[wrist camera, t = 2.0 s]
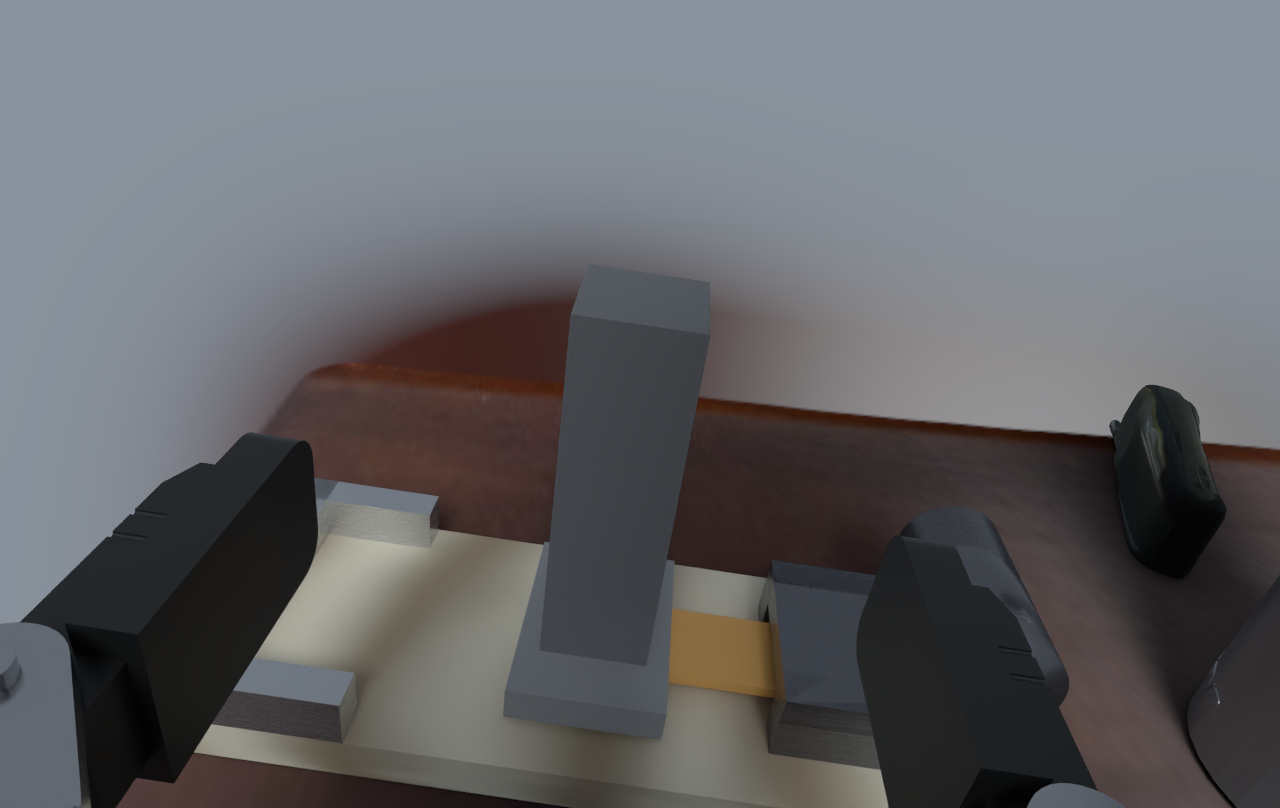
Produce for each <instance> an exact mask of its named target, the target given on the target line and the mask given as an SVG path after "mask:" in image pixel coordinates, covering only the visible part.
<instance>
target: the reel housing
mask: <svg viewBox="0 0 1280 808" xmlns="http://www.w3.org/2000/svg"><path fill="white" fill-rule="evenodd" d="M899 536H904V537H910V538H916V539H923V540H929V541H936V542H942V543H948V544H952V545H953V546H955V548H956V549H957V551H958V553H959V555H960V558H961V560H962V562H963V565H964V567H965V569H966V572H967V574H968V577H969V579H970V581H971V584H972V585H975V586H981V587H988V588H989V589H990V590H991V591H992V592H993V593H994V594H995V595H996V596H997V597H998V598H999V600H1000V601H1001V602H1002V603H1003V604H1004V605H1005V606H1006V607H1007V608H1008V609H1009V610H1010V611H1011V612H1012V613H1013V615H1014V616H1015V617H1016V618H1017V619H1018V622H1019V624H1020V626H1021V628H1022V630H1023V632H1024V634H1025V637H1026V639H1027V641H1028V643H1029V645H1030V647H1031V649H1032V657H1035V658H1036V660H1037V662H1038V664H1039V666H1040V669H1041V671H1042V673H1043V675H1044V677H1045V680H1044V683H1045V685H1048V686H1049V688H1050V690H1051V692H1052V694H1053V696H1054V699H1055V701H1056V703H1057V705H1058V707H1059V706H1060V705H1061V703H1062V702H1063V701H1064V699H1065V697H1066V695H1067V692H1068V689H1069V678H1068V675H1067V672H1066V670H1065V668H1064V666H1063V664H1062V662H1061V659H1060V657H1059V655H1058V653H1057V651H1056V649H1055V647H1054V645H1053V643H1052V641H1051V639H1050V637H1049V635H1048V633H1047V631H1046V629H1045V627H1044V625H1043V623H1042V621H1041V619H1040V617H1039V615H1038V613H1037V611H1036V609H1035V607H1034V604H1033V602H1032V600H1031V598H1030V596H1029V594H1028V592H1027V590H1026V588H1025V586H1024V584H1023V582H1022V580H1021V578H1020V576H1019V574H1018V572H1017V570H1016V568H1015V566H1014V564H1013V562H1012V560H1011V558H1010V556H1009V554H1008V551H1007V549H1006V547H1005V545H1004V543H1003V541H1002V539H1001V537H1000V535H999V533H998V531H997V529H996V527H995V526H994V524H993V523H992V522H991V520H990V519H989V518H987V517H986V516H985V515H983V514H982V513H980V512H978V511H975V510H972V509H969V508H964V507H942V508H938V509H934V510H931V511H928V512H926V513H923V514H921V515H919V516H918V517H916V518H915V519H913V520H912V521H911V522H909V523H908V524H907V525H906V526H905V527H904V529H903V530H902V531H901V533H900V534H899ZM875 578H876V575H871V574H864V573H857V572H850V571H843V570H837V569H830V568H823V567H816V566H810V565H803V564H796V563H789V562H783V561H776V560H771V563H770V567H769V570H768V574H767V577H766V581H765V584H764V588H763V591H762V595H761V599H760V602H759V606H758V619H759V621H760V622H767V623H770V630H771V641H772V652H773V662H774V673H775V684H776V694H775V697H774V700H773V703H772V706H771V709H770V712H769V716H768V719H767V735H768V748H769V754H775V755H782V756H788V757H795V758H802V759H809V760H816V761H823V762H829V763H836V764H843V765H850V766H857V767H863V768H870V769H877V770H880V765H879V760H878V756H877V751H876V746H875V742H874V737H873V732H872V728H871V723H870V718H869V714H868V709H867V704H866V700H865V695H864V691H863V686H862V681H861V677H860V672H859V667H858V662H857V652H856V643H857V632H858V626H859V621H860V617H861V614H862V612H863V609H864V606H865V604H866V601H867V599H868V596H869V593H870V591H871V588H872V585H873V583H874V580H875Z"/></svg>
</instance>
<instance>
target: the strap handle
mask: <svg viewBox="0 0 1280 808" xmlns="http://www.w3.org/2000/svg"><path fill="white" fill-rule="evenodd" d="M709 339H710V283H709V282H703V281H697V280H690V279H683V278H677V277H670V276H663V275H657V274H649V273H643V272H637V271H630V270H623V269H616V268H610V267H603V266H596V265H590V264H589V265H588V268H587V270H586V273H585V276H584V279H583V282H582V285H581V287H580V290H579V293H578V296H577V298H576V302H575V304H574V307H573V310H572V313H571V319H570V329H569V340H568V351H567V361H566V373H565V383H564V393H563V404H562V415H561V425H560V436H559V447H558V457H557V468H556V479H555V489H554V500H553V510H552V521H551V532H550V542H544V546H543V549H542V553H541V557H540V561H539V564H538V568H537V572H536V576H535V579H534V583H533V587H532V591H531V594H530V598H529V602H528V606H527V609H526V613H525V617H524V621H523V624H522V628H521V632H520V636H519V639H518V643H517V647H516V651H515V654H514V658H513V662H512V666H511V670H510V673H509V677H508V681H507V685H506V688H505V695H504V711H503V717H509V718H516V719H523V720H530V721H536V722H543V723H550V724H557V725H564V726H570V727H577V728H584V729H591V730H598V731H605V732H611V733H618V734H625V735H632V736H639V737H645V738H652V739H659V740H661V738H662V734H663V729H664V725H665V720H666V716H667V700H668V683H675V684H681V685H688V686H695V687H702V688H709V689H715V690H722V691H729V692H736V693H743V694H749V695H756V696H763V697H770V698H774V697H775V694H776V684H775V673H774V662H773V652H772V641H771V630H770V623H767V622H760V621H753V620H746V619H740V618H733V617H726V616H719V615H712V614H706V613H699V612H692V611H685V610H679V609H672V600H673V580H674V561H672V560H667V556H668V551H669V546H670V541H671V535H672V530H673V525H674V520H675V515H676V510H677V505H678V499H679V494H680V489H681V484H682V479H683V474H684V468H685V463H686V458H687V453H688V448H689V443H690V437H691V432H692V427H693V422H694V417H695V412H696V407H697V401H698V396H699V391H700V386H701V381H702V376H703V370H704V365H705V360H706V355H707V350H708V344H709Z"/></svg>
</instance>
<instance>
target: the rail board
mask: <svg viewBox="0 0 1280 808" xmlns="http://www.w3.org/2000/svg"><path fill="white" fill-rule="evenodd" d="M543 546H544V545H539V544H532V543H525V542H519V541H512V540H505V539H498V538H492V537H485V536H478V535H471V534H465V533H458V532H451V531H444V530H438V532H437V535H436V537H435V539H434V541H433V543H432V546H431V548H430V549H425V548H419V547H412V546H405V545H398V544H392V543H385V542H378V541H371V540H365V539H358V538H351V537H344V536H337V535H331V534H329V535H328V537H327V538H326V540H325V542H324V543H323V545H322V546H321V548H320V550H319V551H318V553H317V554H316V556H315V557H314V559H313V562H312V564H311V567H310V569H309V571H308V573H307V575H306V577H305V578H304V580H303V582H302V583H301V585H300V586H299V588H298V589H297V591H296V592H295V594H294V596H293V597H292V599H291V600H290V602H289V603H288V605H287V607H286V608H285V610H284V611H283V613H282V614H281V616H280V618H279V619H278V621H277V622H276V624H275V625H274V627H273V629H272V630H271V632H270V633H269V635H268V636H267V638H266V640H265V641H264V643H263V644H262V646H261V647H260V649H259V651H258V652H257V654H256V655H255V657H254V658H257V659H264V660H271V661H278V662H285V663H291V664H298V665H305V666H312V667H319V668H325V669H332V670H339V671H346V672H353V673H355V683H356V696H357V709H358V710H357V712H356V715H355V717H354V719H353V721H352V723H351V726H350V728H349V730H348V732H347V735H346V737H345V739H344V741H343V743H336V742H329V741H322V740H315V739H309V738H302V737H295V736H288V735H281V734H275V733H268V732H261V731H254V730H247V729H240V728H234V727H227V726H220V725H213V724H211V726H210V728H209V729H208V731H207V732H206V734H205V735H204V737H203V739H202V740H201V742H200V743H199V745H198V746H197V748H196V750H195V751H194V752H195V753H202V754H209V755H216V756H223V757H229V758H236V759H243V760H250V761H257V762H264V763H270V764H277V765H284V766H291V767H298V768H305V769H311V770H318V771H325V772H332V773H339V774H346V775H352V776H359V777H366V778H373V779H380V780H387V781H393V782H400V783H407V784H414V785H421V786H428V787H434V788H441V789H448V790H455V791H462V792H469V793H476V794H482V795H489V796H496V797H503V798H510V799H517V800H523V801H530V802H537V803H544V804H551V805H558V806H564V807H571V808H889V807H888V802H887V797H886V793H885V788H884V784H883V779H882V774H881V770H877V769H870V768H863V767H857V766H850V765H843V764H836V763H829V762H823V761H816V760H809V759H802V758H795V757H788V756H782V755H775V754H769V748H768V735H767V719H768V716H769V712H770V709H771V706H772V703H773V700H774V698H770V697H763V696H756V695H749V694H743V693H736V692H729V691H722V690H715V689H709V688H702V687H695V686H688V685H681V684H675V683H668V700H667V716H666V720H665V725H664V729H663V734H662V738H661V740H659V739H652V738H645V737H639V736H632V735H625V734H618V733H611V732H605V731H598V730H591V729H584V728H577V727H570V726H564V725H557V724H550V723H543V722H536V721H530V720H523V719H516V718H509V717H503V711H504V695H505V688H506V685H507V681H508V677H509V673H510V670H511V666H512V662H513V658H514V654H515V651H516V647H517V643H518V639H519V636H520V632H521V628H522V624H523V621H524V617H525V613H526V609H527V606H528V602H529V598H530V594H531V591H532V587H533V583H534V579H535V576H536V572H537V568H538V564H539V561H540V557H541V553H542V549H543ZM765 581H766V578H762V577H755V576H749V575H742V574H735V573H728V572H722V571H715V570H708V569H701V568H695V567H688V566H681V565H674V580H673V600H672V609H679V610H685V611H692V612H699V613H706V614H712V615H719V616H726V617H733V618H740V619H746V620H753V621H759V619H758V606H759V602H760V599H761V595H762V591H763V588H764V584H765Z"/></svg>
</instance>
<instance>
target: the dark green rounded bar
mask: <svg viewBox="0 0 1280 808" xmlns="http://www.w3.org/2000/svg"><path fill="white" fill-rule="evenodd" d="M1109 427H1110V430H1111V433H1112V435H1113V439H1114V442H1115V446H1116V453H1115V456H1114V465H1115V471H1116V475H1117V479H1118V485H1119V500H1120V505H1121V510H1122V515H1123V521H1124V527H1125V534H1126V539H1127V543H1128V546H1129V548H1130V550H1131V552H1132V553H1133V554H1134V555H1135V556H1136V557H1137V558H1138V559H1139V560H1140V561H1142V562H1143V563H1144V564H1146V565H1148V566H1149V567H1151V568H1153V569H1156V570H1158V571H1160V572H1163V573H1166V574H1168V575H1172V576H1175V577H1179V578H1183V577H1185V576H1186V575H1187V574H1188V573H1189V572H1190V571H1191V569H1192V568H1193V566H1194V565H1195V563H1196V561H1197V560H1198V558H1199V557H1200V555H1201V553H1202V552H1203V550H1204V549H1205V547H1206V546H1207V544H1208V543H1209V541H1210V540H1211V538H1212V537H1213V536H1214V534H1215V533H1216V531H1217V530H1218V528H1219V527H1220V525H1221V523H1222V522H1223V520H1224V518H1225V514H1226V507H1225V504H1224V502H1223V500H1222V499H1221V497H1220V495H1219V492H1218V490H1217V487H1216V484H1215V482H1214V479H1213V476H1212V473H1211V470H1210V465H1209V463H1208V460H1207V457H1206V454H1205V452H1204V449H1203V447H1202V444H1201V441H1200V430H1199V417H1198V413H1197V411H1196V409H1195V407H1194V406H1193V405H1192V404H1191V403H1190V402H1188V401H1187V400H1185V399H1184V398H1183V397H1182V396H1181V395H1180V393H1178V392H1177V391H1174V390H1171V389H1168V388H1165V387H1161V386H1157V385H1147V386H1145V387H1143V388H1142V389H1141V390H1140V391H1139V392H1138V393H1137V395H1136V397H1135V398H1134V400H1133V401H1132V403H1131V405H1130V406H1129V408H1128V410H1127V412H1126V413H1125V415H1124V417H1123V419H1122V422H1121V423H1119V421H1117V420H1113V421H1111V423H1110V425H1109Z"/></svg>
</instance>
